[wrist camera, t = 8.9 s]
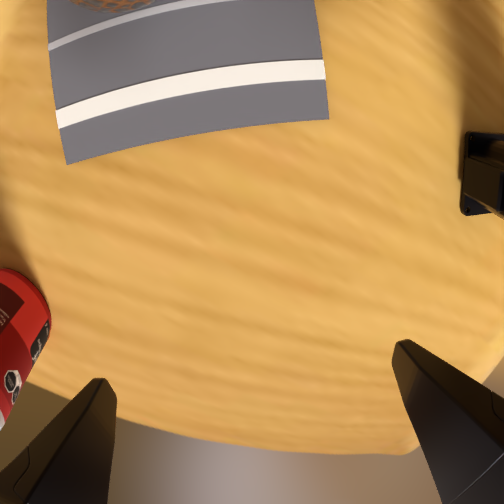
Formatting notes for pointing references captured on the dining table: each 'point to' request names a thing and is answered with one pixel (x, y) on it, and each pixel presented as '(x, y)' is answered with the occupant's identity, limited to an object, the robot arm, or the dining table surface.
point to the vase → (112, 5)
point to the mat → (181, 70)
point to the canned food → (19, 334)
